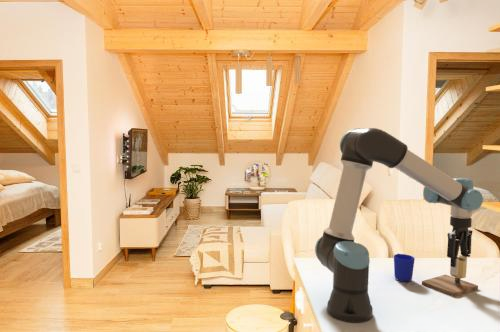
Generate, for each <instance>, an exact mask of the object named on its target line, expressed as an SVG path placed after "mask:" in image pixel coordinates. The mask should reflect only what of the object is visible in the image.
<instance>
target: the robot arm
mask: <svg viewBox="0 0 500 332" xmlns="http://www.w3.org/2000/svg"><path fill="white" fill-rule="evenodd" d="M339 150H340V152H341V159H340V162H341V164H342V167H343V168H342V172H341V174H340V180H339V184H338V188H337V192H336V196H335V200H334V201H335V202H334V204H333V208H332V213H331V217H330V221H329V226H328V227H327V228H325V229H324V230H323V231H322V232H323V233H322V236H321V237H319V239H317V241H316V243H315V246H314V247H315V248H314V251H315V252H314V253H315V255H316V258H317V260H318V261H319V262H320V264H321V265H322V266H323V267H325V268H327V269H328V270H329V271H330V272H331V273H332V274H333V277H332V280H333V281H332V291H331V293H330V296H329V299H328V301H327V304H326V305H327V309H326V310H327V313H328V315H330V316H331V317H333V318H334V319H336V320H339V321H343V322H347V323H363V322H367V321H370V320H371V319H372V317H373V305H372V304H371V299H370V296H369V274H370V272H369V271H370V269H369V268H370V252H369V250H368V248H367V247H366V246H365V245H363V244H361V243H360V242H359V243H357V242H355V236H354V234H353V229H354V224H355V220H356V216H357V212H358V208H359V204H360V199H361V195H362V192H363V188H364V184H365V179H366V174H367V171H369V170H371V169H372V168H373V165H374V163H377V164H381V165H384V166H385V167H387V168H388V169H394V168H395V169H396V170H398V171H400V172H401V173H403V174H404V175H406V176H408V177H409V178H411V179H413V180H414V181H416V182H417V183H419V184H420V185H422V186H423V187H424V188H423V193H422V194H423V195H422V196H423V199H424V200H425V201H426V202H427V203H429V204H430V203H431V204H443V205H446V206H450V218H449V225H450V226H452V231H451V232H448V233H447V247H446V248H447V249H446V250H447V252H446V253H447V254H446V257H447V258H450V265H449V267H450V270H449V274H453V275H456V276H457V275H458V259H457V257H461V258H464V259H466V260H467V261H468V258H471V254H472V236H473V230H471V229H469V228H471V227H472V222H473V221H472V220H473V219H472V216H473V215H472V214H473V211H476V210H479V209H480V207H481V206H482V204H483V202H484V197H483V194H482V193H481V191H479V190H477V189H475V188H474V181H473V179H471V178H467V177H466V178H465V177H454V178H452V177H451V176H449V174H446V173H445V172H444V171H442V170H440V169H439V168H437V166H436V167H435V166H434V165H432V164H431V163H430V162H428V161H426V160H425V159H423V158H422V157H420V156H418V155H417V154H415V153H414V152H412V151H411V150H409V148H408V145H407V144H406V143H404V142H403V141H401V140H400V139H398V138H396V137H395V136H393V135H392V134H390V133H388V132H386V131H385V130H382V129H379V128H376V127H369V128H367V127H366V128H359V127H358V128H353V129H351V130H348V131H347V132H345V133H344V135H343V136H342V137H341V139H340V142H339ZM459 251H460V255H459ZM467 265H468V264H466V269H467V267H468V266H467Z"/></svg>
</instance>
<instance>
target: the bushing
mask: <svg viewBox="0 0 500 332" xmlns="http://www.w3.org/2000/svg"><path fill="white" fill-rule="evenodd" d="M457 259H458V275H457V276H456V275H453V274H450V273H449V274H450V275H449V276H451V277H454V278H455V277H456V278H460V279H466V277H467V268H466V264H467V263H468V262H467V261H468V259H467V260H466V259H464V258H461V257H459V256H457ZM467 265H468V264H467Z"/></svg>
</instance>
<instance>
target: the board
mask: <svg viewBox="0 0 500 332" xmlns="http://www.w3.org/2000/svg"><path fill="white" fill-rule="evenodd" d="M454 282H455V277H453V276H451V275H447V274H442V275H438V276H436V277H435V276H434V277H432V278H428V279H425V280H421V286H425V287H427V288H430V289H432V290H435V291H437V292H441V293H443V294H446V295H447V296H451V297H454V298H456V297H458V296H462V295H465V294H467V293H471V292H474V291H476V290H478V289H479V285H477V284H475V283H472V282H469V281H465V280H462V279H460V283H461V285H455V284H454Z"/></svg>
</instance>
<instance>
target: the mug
mask: <svg viewBox="0 0 500 332" xmlns="http://www.w3.org/2000/svg"><path fill="white" fill-rule="evenodd" d="M415 260H416V259H415V257H414V256H413V255H410V254H403V253H397V254H394V255H393V268H394V269H393V270H394V279H396V280H397V281H399V282H403V283H404V282H405V283H407V282H411V281H412V279H413V275H414V267H415Z"/></svg>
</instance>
